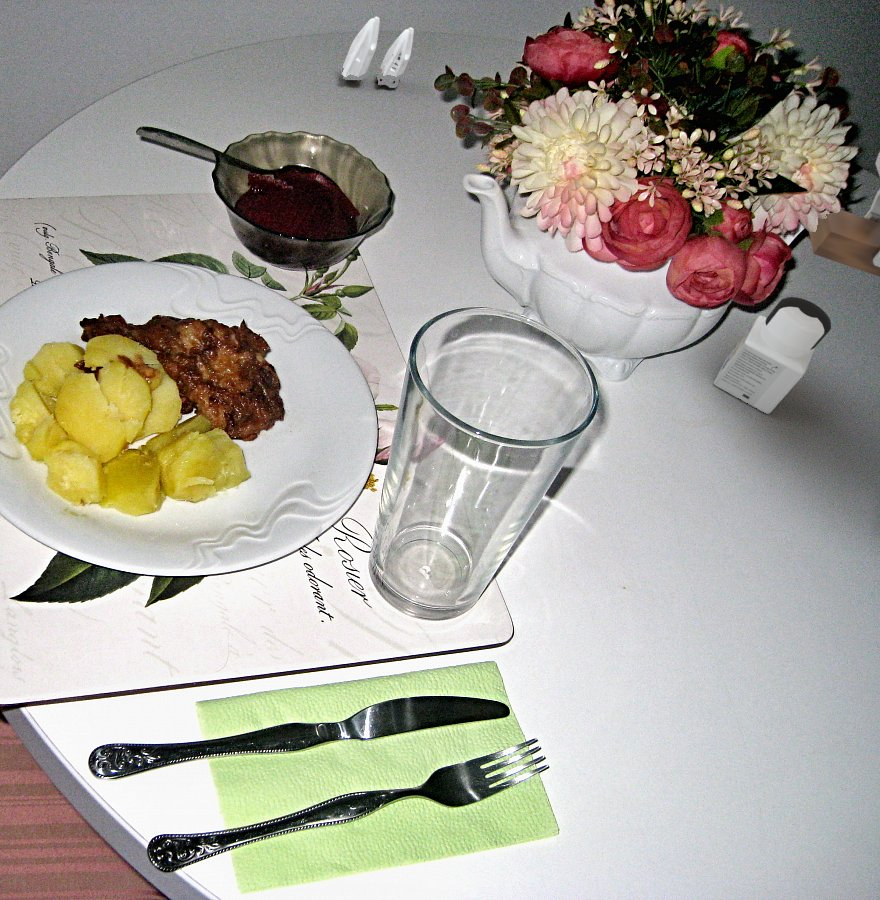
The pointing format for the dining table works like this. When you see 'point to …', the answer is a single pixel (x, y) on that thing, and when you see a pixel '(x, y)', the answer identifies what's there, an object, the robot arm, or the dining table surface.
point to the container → (774, 353)
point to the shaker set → (366, 47)
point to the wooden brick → (847, 240)
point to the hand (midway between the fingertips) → (872, 245)
